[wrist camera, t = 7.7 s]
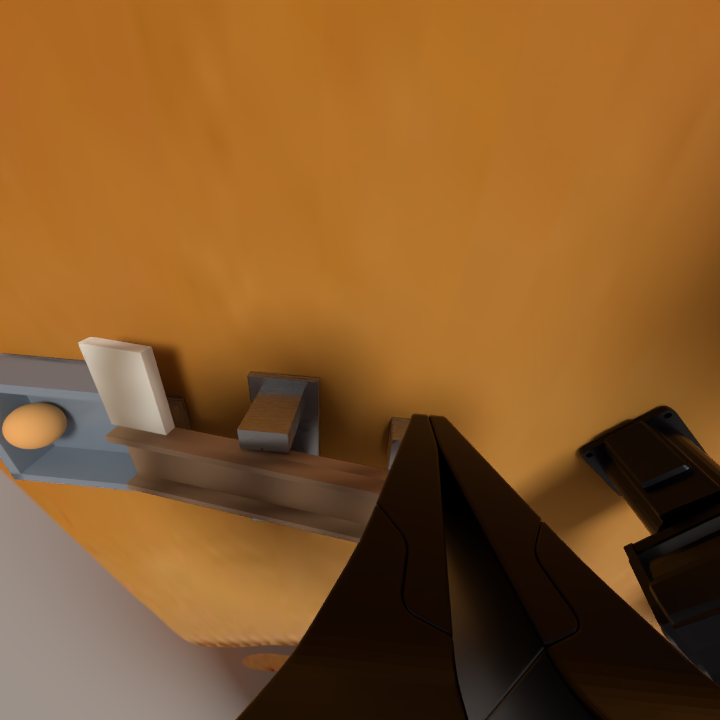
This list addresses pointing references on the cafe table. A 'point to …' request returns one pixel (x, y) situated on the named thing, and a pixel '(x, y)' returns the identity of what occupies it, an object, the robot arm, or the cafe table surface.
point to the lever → (223, 456)
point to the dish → (83, 431)
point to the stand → (284, 416)
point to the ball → (34, 425)
